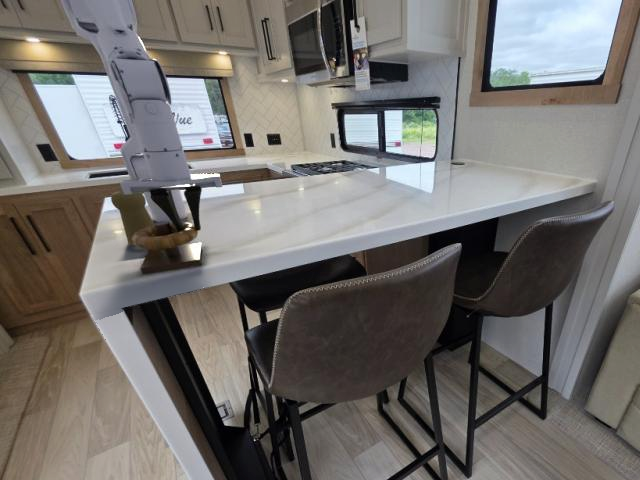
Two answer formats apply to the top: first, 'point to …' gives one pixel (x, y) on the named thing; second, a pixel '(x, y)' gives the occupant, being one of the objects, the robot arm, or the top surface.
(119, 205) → the cork
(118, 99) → the robot arm
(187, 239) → the ring
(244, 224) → the top surface
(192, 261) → the holder
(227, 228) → the top surface
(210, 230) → the top surface
